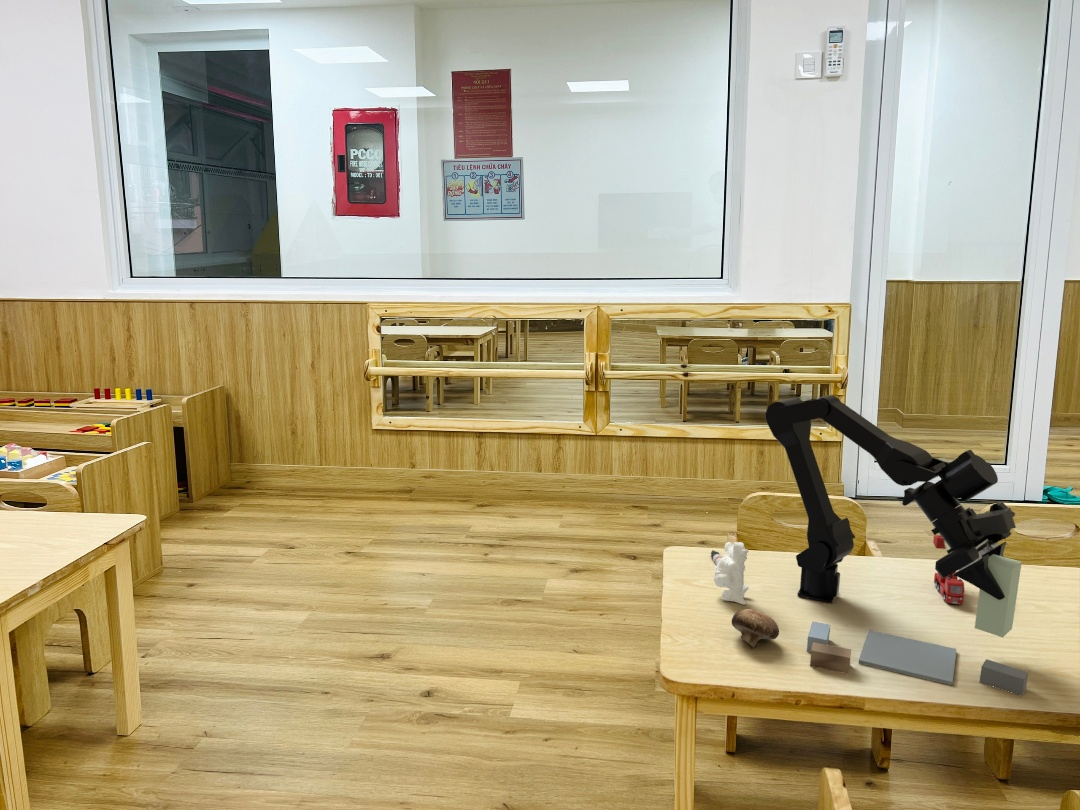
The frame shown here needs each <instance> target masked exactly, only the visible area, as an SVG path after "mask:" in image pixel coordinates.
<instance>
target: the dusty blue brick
mask: <svg viewBox="0 0 1080 810" xmlns="http://www.w3.org/2000/svg"><path fill="white" fill-rule="evenodd" d="M830 632H831V624H829V623H824V622H818V621H813V620H812V621H811V624H810V628H809V631H808V635H807V642H806V643H807V645H806V652H807V653H811V649H812V644H813V642H815V643H820V644H825V645H829V641H830V634H831V633H830Z"/></svg>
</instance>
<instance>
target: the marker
mask: <svg viewBox="0 0 1080 810" xmlns="http://www.w3.org/2000/svg"><path fill="white" fill-rule="evenodd" d="M723 557H724V556H722V555H721V554H720V553H719V551H716V550H713V549H712V550H711V552H710V558H711V559H712V561H713V562H714V564H715V566H717V564H718V563H719V561H720V559H721V558H723Z"/></svg>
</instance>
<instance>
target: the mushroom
mask: <svg viewBox="0 0 1080 810" xmlns="http://www.w3.org/2000/svg"><path fill="white" fill-rule="evenodd" d="M731 625H732V627H733V629H735V630H736V631H738V632H740V634H741V636H740V638H741V639H742V640H743V641H744V642H746V644H748V645H749V646H751V647H752V648H755V647H756V644H757V643H758V641H760V640H776V639H777V638H778V637H779V635H780V628H779V626H778V625H779V624H777V622H776V621H775V620H774V619H773V618H772V617H771V616H769V615H767V614H765V613H763V612H760V611H758V610H755V609H751V608H748V609H741V610H738V611H736V612H735V613H734V614H733V616H732V618H731Z"/></svg>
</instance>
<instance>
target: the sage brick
mask: <svg viewBox="0 0 1080 810" xmlns="http://www.w3.org/2000/svg"><path fill="white" fill-rule="evenodd" d="M1022 564H1023V562H1022V561H1021V560H1015V559H1012V558H1008V557H1004V556H1003V557H1002V556H998V555H995V554H993V555H991V556H990V557H989V558H988V568H989V570H990V571H991V573H992V575H993V576H994V578H995V580H996V581H997V583H998V585H999V586H1000V588H1001V590H1002V592H1003V594H1004V595H1005V598H1003V599H1001V600H998V599H996V598H994V597H993V596H991V595H989V594H988V593H986V592H984V591H983V590H981V589H979V593H978V599H977V607H976V614H975V624H974V629H976V630H979V631H982V632H985V633H988V634H991V635H995V636H998V637H1000V638H1004V637H1005V636H1007V634H1008V633H1009V632H1010V631H1011V630H1012V629H1013V626H1014V625H1013V624H1014V618H1015V611H1016V604H1017V597H1018V591H1019V584H1020V583H1019V582H1020V576H1021V570H1022Z"/></svg>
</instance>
